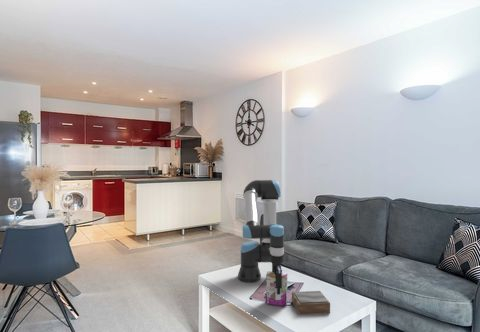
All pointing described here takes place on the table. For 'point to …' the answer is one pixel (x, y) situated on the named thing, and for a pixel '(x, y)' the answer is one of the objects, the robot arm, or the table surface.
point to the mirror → (310, 302)
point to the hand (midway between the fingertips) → (276, 296)
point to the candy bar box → (271, 289)
